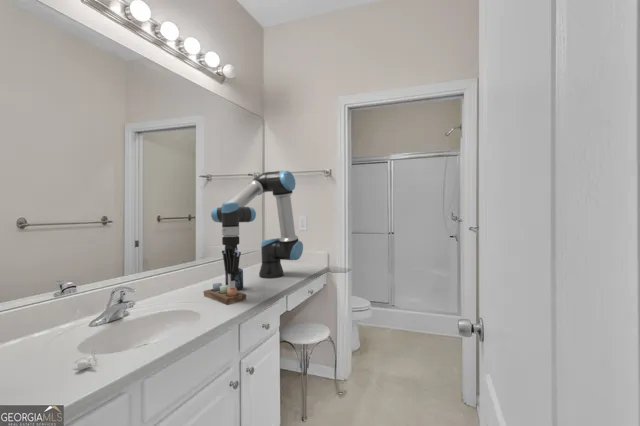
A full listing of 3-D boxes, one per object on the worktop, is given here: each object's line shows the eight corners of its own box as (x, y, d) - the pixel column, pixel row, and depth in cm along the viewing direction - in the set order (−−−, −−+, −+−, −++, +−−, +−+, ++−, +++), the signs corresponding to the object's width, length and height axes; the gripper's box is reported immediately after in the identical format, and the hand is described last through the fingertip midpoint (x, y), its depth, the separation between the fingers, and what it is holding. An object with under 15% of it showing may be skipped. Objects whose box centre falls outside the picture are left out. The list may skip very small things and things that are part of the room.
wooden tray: (222, 291, 160) (222, 286, 160) (246, 299, 144) (246, 294, 144) (204, 295, 153) (203, 290, 153) (226, 304, 137) (226, 298, 137)
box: (228, 291, 160) (228, 271, 160) (225, 289, 164) (224, 269, 164) (243, 289, 164) (243, 269, 164) (240, 287, 169) (239, 267, 169)
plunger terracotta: (233, 295, 147) (233, 286, 147) (238, 297, 144) (238, 288, 144) (225, 297, 144) (225, 288, 144) (230, 299, 141) (230, 290, 141)
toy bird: (64, 369, 81) (70, 349, 83) (80, 367, 85) (86, 348, 87) (89, 372, 79) (95, 351, 81) (105, 370, 84) (110, 351, 85)
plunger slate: (219, 290, 157) (219, 282, 157) (223, 291, 154) (223, 283, 154) (211, 292, 154) (211, 284, 154) (215, 293, 151) (215, 285, 151)
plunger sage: (226, 292, 152) (226, 284, 152) (230, 294, 149) (230, 285, 149) (218, 294, 149) (218, 286, 149) (222, 296, 146) (222, 287, 146)
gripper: (216, 236, 145) (217, 287, 145) (230, 237, 136) (231, 291, 136) (230, 235, 151) (231, 284, 151) (245, 236, 142) (246, 288, 142)
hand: (231, 287), depth 144 cm, fingers closed
